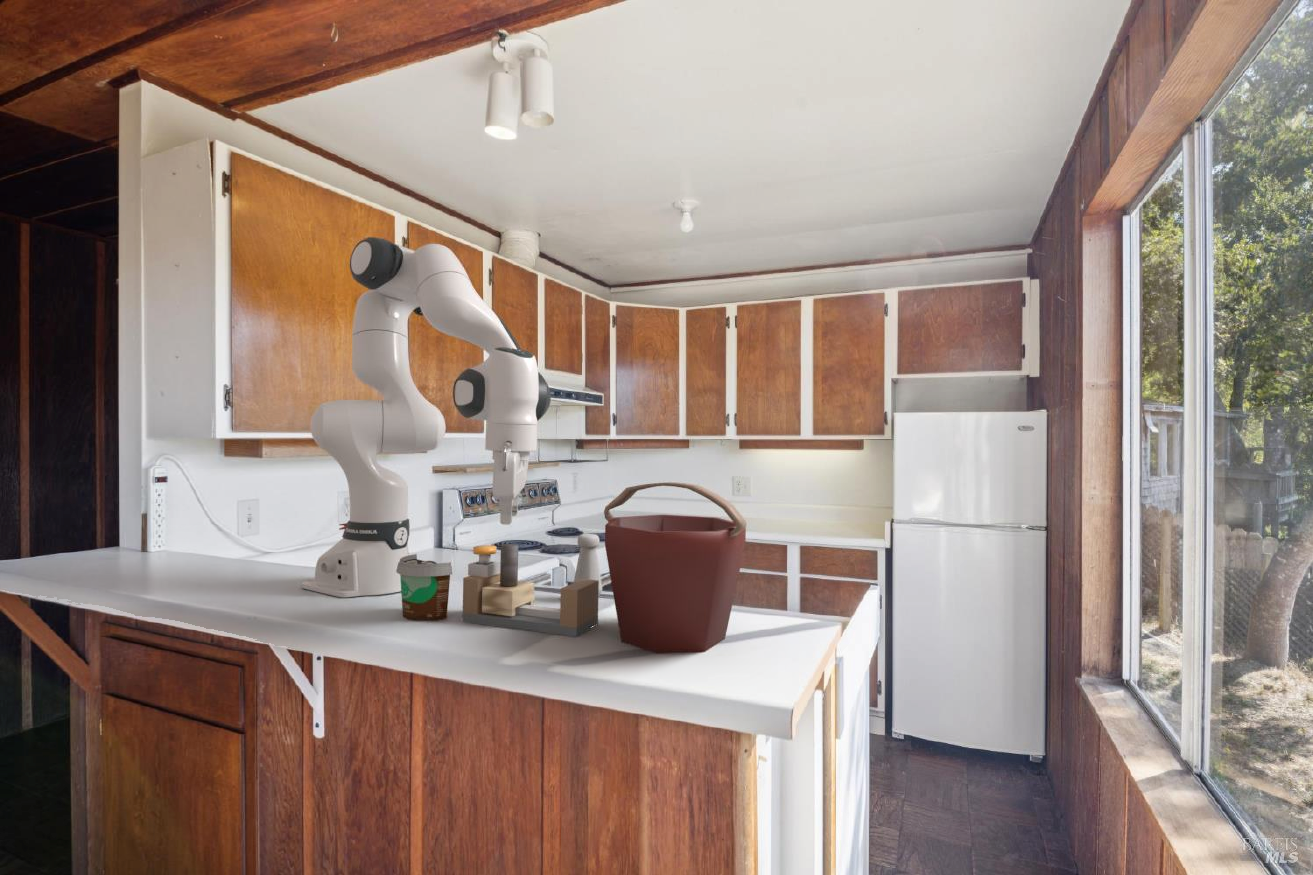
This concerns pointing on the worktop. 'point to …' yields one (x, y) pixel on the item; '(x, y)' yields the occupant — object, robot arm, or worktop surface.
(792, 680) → the worktop surface
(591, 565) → the salt shaker
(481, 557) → the knob
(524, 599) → the carriage
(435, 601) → the food container
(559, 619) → the rail board
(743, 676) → the worktop surface
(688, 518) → the bucket
